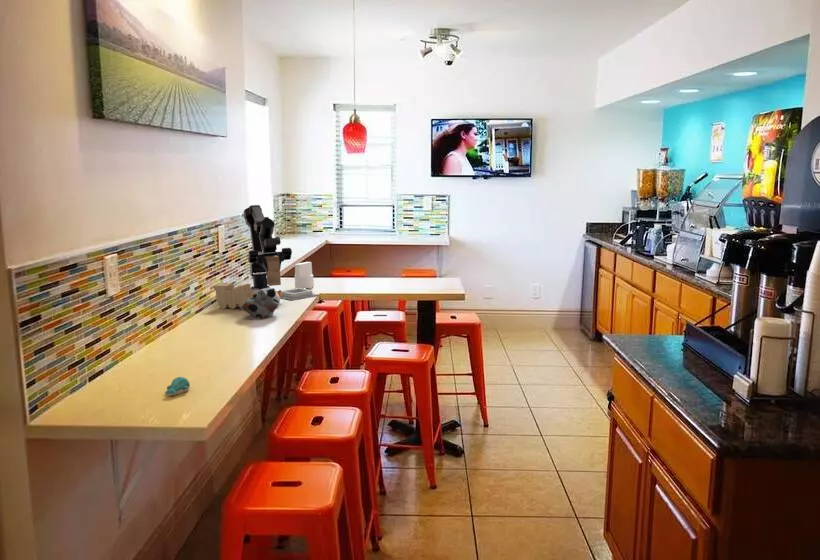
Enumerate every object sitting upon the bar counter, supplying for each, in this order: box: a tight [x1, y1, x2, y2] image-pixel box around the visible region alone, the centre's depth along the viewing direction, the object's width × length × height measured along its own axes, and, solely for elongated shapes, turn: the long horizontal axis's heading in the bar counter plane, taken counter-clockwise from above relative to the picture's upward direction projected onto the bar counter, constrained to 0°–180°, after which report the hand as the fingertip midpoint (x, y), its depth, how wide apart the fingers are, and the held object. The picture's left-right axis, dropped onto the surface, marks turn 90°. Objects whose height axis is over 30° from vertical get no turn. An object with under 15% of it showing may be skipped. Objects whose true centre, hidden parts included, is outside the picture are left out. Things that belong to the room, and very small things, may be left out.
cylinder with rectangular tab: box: [294, 261, 315, 289], centre depth 310 cm, size 9×9×12 cm
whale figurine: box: [164, 376, 190, 396], centre depth 165 cm, size 6×7×4 cm
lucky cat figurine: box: [239, 287, 282, 320], centre depth 250 cm, size 15×12×14 cm
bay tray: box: [281, 288, 319, 301], centre depth 290 cm, size 14×14×2 cm
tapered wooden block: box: [265, 255, 282, 287], centre depth 281 cm, size 5×5×12 cm
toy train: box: [212, 282, 254, 310], centre depth 268 cm, size 6×17×10 cm, turn 71°
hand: (273, 270), depth 280 cm, fingers closed on tapered wooden block, 5 cm apart
